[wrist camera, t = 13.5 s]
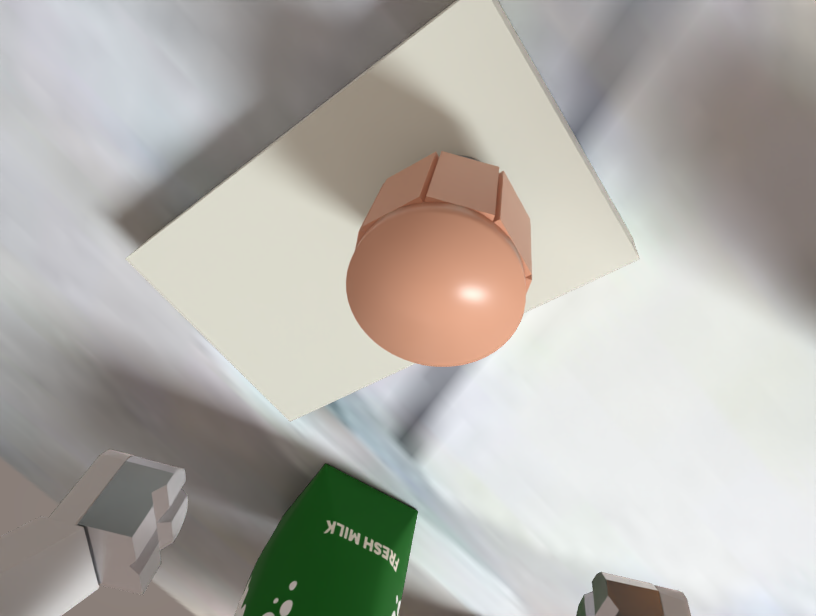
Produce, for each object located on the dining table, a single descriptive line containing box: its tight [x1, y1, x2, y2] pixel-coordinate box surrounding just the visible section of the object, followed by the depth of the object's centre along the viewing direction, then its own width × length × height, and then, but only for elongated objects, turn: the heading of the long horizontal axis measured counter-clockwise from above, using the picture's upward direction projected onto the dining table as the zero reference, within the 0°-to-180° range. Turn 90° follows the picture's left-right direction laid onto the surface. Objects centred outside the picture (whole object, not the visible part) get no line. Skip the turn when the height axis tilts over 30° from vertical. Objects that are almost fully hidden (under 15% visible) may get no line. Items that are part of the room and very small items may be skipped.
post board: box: [126, 0, 640, 422], centre depth 24 cm, size 20×12×8 cm, turn 126°
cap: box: [346, 151, 532, 367], centre depth 20 cm, size 6×6×5 cm
